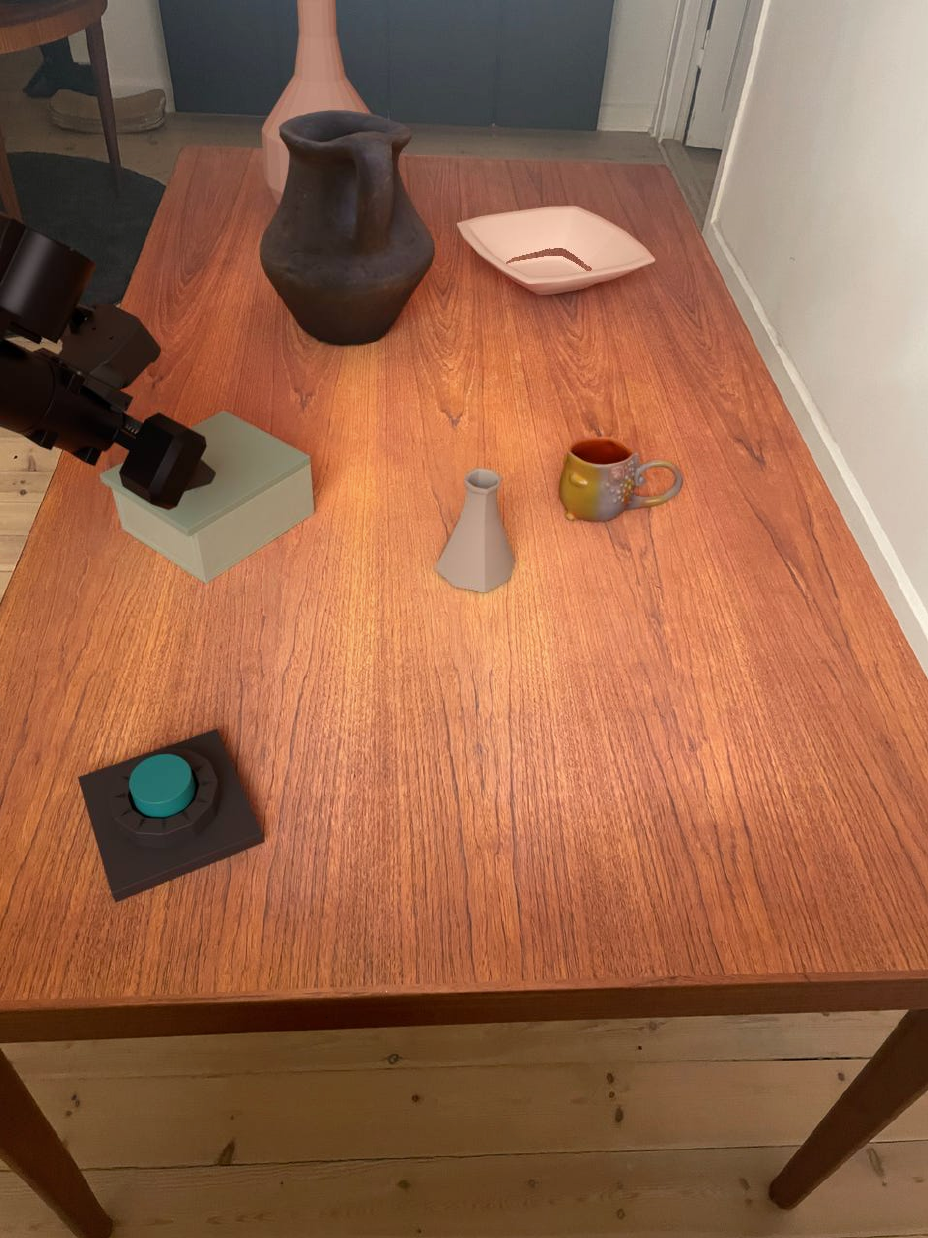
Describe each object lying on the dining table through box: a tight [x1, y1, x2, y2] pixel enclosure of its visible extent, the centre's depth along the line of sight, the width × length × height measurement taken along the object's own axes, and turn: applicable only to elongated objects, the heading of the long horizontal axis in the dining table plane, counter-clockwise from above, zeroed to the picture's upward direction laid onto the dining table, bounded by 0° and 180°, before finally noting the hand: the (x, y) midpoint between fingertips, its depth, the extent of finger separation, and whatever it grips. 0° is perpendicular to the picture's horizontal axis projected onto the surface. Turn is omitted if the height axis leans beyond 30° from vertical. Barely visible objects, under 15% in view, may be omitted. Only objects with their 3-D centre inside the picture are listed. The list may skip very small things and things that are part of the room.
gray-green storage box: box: [111, 463, 315, 585], centre depth 84 cm, size 14×12×6 cm
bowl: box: [456, 205, 656, 296], centre depth 126 cm, size 22×23×6 cm
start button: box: [129, 754, 195, 818], centre depth 61 cm, size 4×4×2 cm
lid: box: [99, 409, 311, 537], centre depth 80 cm, size 14×12×5 cm
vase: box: [261, 0, 372, 207], centre depth 128 cm, size 18×18×30 cm
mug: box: [558, 436, 684, 523], centre depth 89 cm, size 12×7×7 cm, turn 84°
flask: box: [434, 467, 516, 594], centre depth 80 cm, size 7×7×10 cm
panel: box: [77, 728, 265, 903], centre depth 62 cm, size 10×10×3 cm
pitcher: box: [259, 110, 436, 346], centre depth 106 cm, size 21×22×25 cm
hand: (176, 456), depth 78 cm, fingers open, 9 cm apart
